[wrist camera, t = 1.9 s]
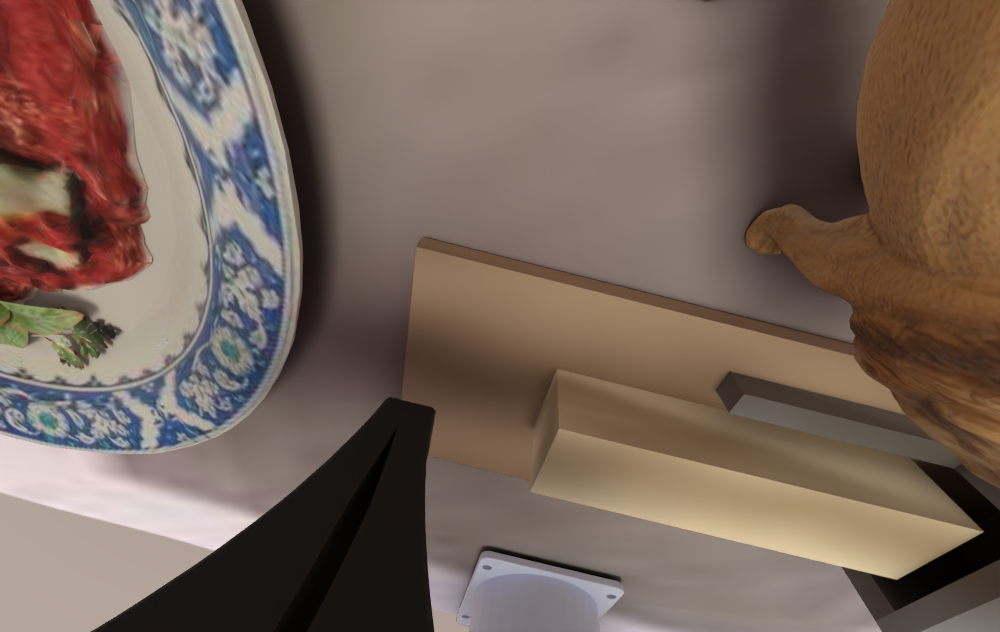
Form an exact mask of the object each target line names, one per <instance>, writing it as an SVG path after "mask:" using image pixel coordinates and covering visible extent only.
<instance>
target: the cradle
mask: <svg viewBox="0 0 1000 632" xmlns="http://www.w3.org/2000/svg"><path fill="white" fill-rule="evenodd" d="M854 354H855V348H854V345H853V344H849V343H845V342H841V341H837V340H833V339H829V338H825V337H821V336H817V335H813V334H809V333H805V332H801V331H797V330H793V329H789V328H785V327H781V326H777V325H773V324H769V323H765V322H761V321H757V320H753V319H749V318H745V317H741V316H737V315H733V314H729V313H725V312H721V311H717V310H713V309H709V308H705V307H701V306H697V305H693V304H689V303H685V302H681V301H677V300H673V299H669V298H665V297H661V296H657V295H653V294H649V293H645V292H641V291H637V290H633V289H629V288H625V287H621V286H617V285H613V284H609V283H605V282H601V281H597V280H593V279H589V278H585V277H581V276H577V275H573V274H569V273H565V272H561V271H557V270H553V269H549V268H545V267H541V266H537V265H533V264H529V263H525V262H521V261H517V260H513V259H509V258H505V257H501V256H497V255H493V254H489V253H485V252H481V251H477V250H473V249H469V248H465V247H461V246H457V245H453V244H449V243H445V242H441V241H437V240H433V239H429V238H425V237H424V238H423V240H422V241H421V242H420V243H419V244H418V245H417V246H416V254H415V264H414V274H413V284H412V295H411V305H410V315H409V325H408V336H407V346H406V356H405V366H404V377H403V387H402V397H401V400H404V401H408V402H413V403H417V404H421V405H425V406H429V407H433V408H434V410H435V411H436V413H435V419H434V425H433V431H432V436H431V442H430V448H429V453H428V456H430V457H434V458H438V459H442V460H446V461H450V462H455V463H459V464H463V465H467V466H471V467H475V468H480V469H484V470H488V471H492V472H496V473H500V474H505V475H509V476H513V477H517V478H521V479H525V480H530V481H531V465H532V443H533V428H534V426H535V423H536V421H537V418H538V416H539V413H540V411H541V408H542V406H543V403H544V401H545V398H546V396H547V393H548V391H549V388H550V385H551V383H552V380H553V378H554V375H555V373H556V370H557V369H560V370H564V371H568V372H572V373H576V374H580V375H584V376H588V377H592V378H596V379H600V380H605V381H609V382H613V383H617V384H621V385H625V386H629V387H633V388H637V389H641V390H645V391H649V392H653V393H657V394H661V395H666V396H670V397H674V398H678V399H682V400H686V401H690V402H694V403H698V404H702V405H706V406H710V407H714V408H718V409H723V410H727V411H728V413H730V414H734V415H738V416H742V417H747V418H751V419H755V420H759V421H763V422H767V423H771V424H775V425H779V426H783V427H787V428H791V429H795V430H799V431H803V432H808V433H812V434H816V435H820V436H824V437H828V438H832V439H836V440H840V441H844V442H848V443H852V444H856V445H860V446H865V447H869V448H873V449H877V450H881V451H885V452H889V453H893V454H897V455H901V456H905V457H909V458H911V459H912V460H913V461H914V462H915V463H916V464H917V465H918V466H919V467H920V468H921V469H922V470H923V471H924V472H925V473H926V474H927V475H928V476H929V477H930V478H931V479H932V480H933V481H934V482H935V483H936V484H937V485H938V486H939V487H940V488H941V489H942V490H943V491H944V492H945V493H946V494H947V495H948V496H949V497H950V498H951V499H952V500H953V501H954V502H955V503H956V504H957V505H958V506H959V507H960V508H961V509H962V510H963V511H964V512H965V513H966V514H967V515H968V516H969V517H970V518H971V519H972V520H973V521H974V522H975V523H976V524H977V525H978V526H979V527H980V528H981V529H982V530H983V531H984V532H983V533H981V534H979V535H977V536H976V537H974V538H972V539H970V540H968V541H967V542H965V543H963V544H961V545H959V546H957V547H956V548H954V549H952V550H950V551H948V552H947V553H945V554H943V555H941V556H939V557H937V558H936V559H934V560H932V561H930V562H928V563H927V564H925V565H923V566H921V567H919V568H918V569H916V570H914V571H912V572H910V573H908V574H907V575H905V576H903V577H901V578H899V579H898V580H896V579H892V578H887V577H883V576H879V575H875V574H871V573H867V572H862V571H858V570H854V569H850V568H846V567H842V568H843V570H844V571H845V573H846V574H847V576H848V578H849V579H850V581H851V582H852V584H853V586H854V587H855V589H856V590H857V592H858V594H859V595H860V597H861V598H862V600H863V602H864V603H865V605H866V606H867V608H868V610H869V611H870V613H871V614H872V616H873V618H874V619H875V621H876V622H877V624H878V626H879V627H880V629H881V630H882V632H1000V489H999V488H998V487H996V486H994V485H992V484H990V483H988V482H986V481H985V480H983V479H981V478H979V477H977V476H975V475H974V474H973V473H972V472H970V471H969V470H968V469H967V468H966V467H965V466H964V465H963V464H962V463H961V462H960V461H959V460H958V458H957V457H956V456H955V455H954V454H952V453H951V452H950V451H948V450H947V449H946V448H945V447H943V446H942V445H941V444H939V443H938V442H936V441H935V440H934V439H932V438H931V437H929V436H928V435H927V434H926V433H925V432H924V431H922V429H921V428H920V427H919V426H917V425H916V424H915V423H914V422H913V421H912V420H911V419H910V418H909V417H908V416H907V415H906V414H905V413H904V412H903V411H902V409H901V408H900V406H899V404H898V402H897V401H896V400H895V399H894V397H893V395H892V393H891V391H890V390H889V389H888V388H887V387H885V386H884V385H882V384H880V383H879V382H877V381H876V380H874V379H873V378H871V377H870V376H868V375H867V374H866V373H865V372H864V371H863V370H862V369H861V367H860V366H859V364H858V363H857V362H856V360H855V359H854Z"/></svg>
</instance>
